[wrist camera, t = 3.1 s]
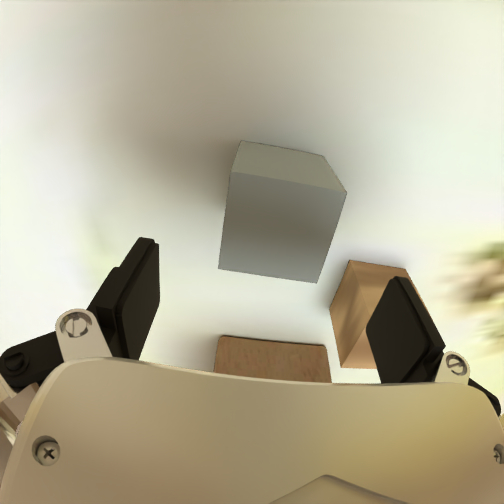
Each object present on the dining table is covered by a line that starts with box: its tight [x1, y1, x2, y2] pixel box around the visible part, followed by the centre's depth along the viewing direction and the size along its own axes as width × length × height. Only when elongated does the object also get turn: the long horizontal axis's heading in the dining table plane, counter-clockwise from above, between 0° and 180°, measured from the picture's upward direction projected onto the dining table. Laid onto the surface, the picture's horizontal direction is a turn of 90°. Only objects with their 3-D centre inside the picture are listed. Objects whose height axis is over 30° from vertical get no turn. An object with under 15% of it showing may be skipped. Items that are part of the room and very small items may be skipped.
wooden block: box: [214, 336, 332, 383], centre depth 21 cm, size 10×10×20 cm
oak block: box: [329, 260, 432, 369], centre depth 20 cm, size 5×5×6 cm
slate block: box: [218, 141, 347, 283], centre depth 16 cm, size 5×5×6 cm
